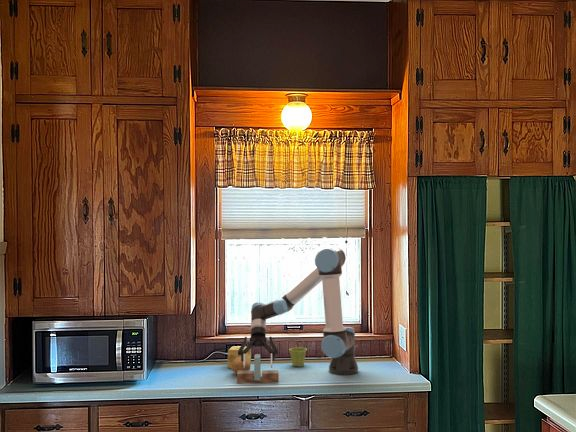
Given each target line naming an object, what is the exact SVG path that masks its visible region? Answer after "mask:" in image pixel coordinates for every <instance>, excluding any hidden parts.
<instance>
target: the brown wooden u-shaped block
mask: <svg viewBox="0 0 576 432" xmlns="http://www.w3.org/2000/svg"><path fill="white" fill-rule="evenodd" d="M279 373H280V371H279V370H278V369H276V370H270V369H268V370H266V369H265V370H264V369H263V370H262V369H261V377H260V380H254V370H249V371H238V372H237V374H236V380H237V381H236V383H237V384H249V383H250V384H254V383H255V384H261V383H262V384H265V383H266V384H267V383H271V384H273V383H272V382H279V381H280V379H279Z"/></svg>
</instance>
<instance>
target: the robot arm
mask: <svg viewBox="0 0 576 432" xmlns="http://www.w3.org/2000/svg"><path fill="white" fill-rule="evenodd" d="M314 257H315V258H314V264H315V267H313V269H311V270H310V271H309V272H308V273H307V274H306V275H305V276H304V277H303V278H302V279H300V281H298V282H297V283H296V284H295V285H294V286H293V287H291V289H289V291H287V292H286V293H285V294H283V296H282V297H281V298H279V299H274V300H273V301H271V302H268V303H266V304H265V303H264V302H262V301H259V302H258V301H257V302H254V303H253V304H252V306H251V311H250V319H251V320H250V321H251V322H250V337H247V336H244V339H243V340H244V341H243V342H242V344H241V345H240V346H239V347H240V348H239V350H238V355H241V361H242V362H243V368H245V354H246V353H247V352H248V351H249V350H250V349H251V350H252V349H253V348H254V347H255V348H256V347H259V348H261V347H263V348H264V349H265V350H266V351H267V352H268V353H269V354H270V368H271V369H273V362H275V361H276V360H275V356H278V355H279V349H278V348H277V346H276V345H275V343H274V341H273V338H272V336H269V337H267V335H266V333H267V331H266V329H267V328H266V327H267V326H266V324H267V321H266V320H268V319H270V318H275V317H276V316H281V315H284V314H285V313H288V312H290V311H291V310H292V309H293V308H294V306H295V305H296V304H298V303H299V302H300V301H301V300H302V299H303V298H304V297H305V296H306V295H307V294H309V293H310V292H311V291H312V290H313V289H315V287H316V286H318V285H319V284H320V283H322V284H321V285H322V295H323V308H324V309H323V310H324V323H325V327H324V328H323V329H322V336H323V338H322V340H321V343H320V346H321V347H320V348H321V350H322V352H323V353H324V354H325V356H327V357H328V358H331V359H330V362H329V365H328V372H329V373H331V374H333V375H341V376H342V375H346V376H347V375H354V374H357V373H358V372H359V364H358V362H357V360H356V357H355V356H356V355H355V353H356V351H355V349H356V348H355V347H356V342H355V341H356V339H355V338H356V337H355V336H356V333H355V328H354V327H352V326H344V325H343V324H344V323H343V310H342V309H343V308H342V307H343V306H342V295H341V285H340V282H341V281H340V277H341V276H342V275H343V273H342V272H343V269H342V268H343V266H344V265H345V263H346V254H345V252H344V250H343V249H342V248H340V247H338V246H330V247H323V248H321V249H320V250H319V251H318V252H317V253H316V255H315V256H314ZM249 342H250V343H249ZM268 343H269V344H270V346H271V347H270V346H269V345H268ZM247 344H248V345H247ZM246 346H247V347H246ZM244 347H246V348H245V349H244ZM243 349H244V350H243Z"/></svg>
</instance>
